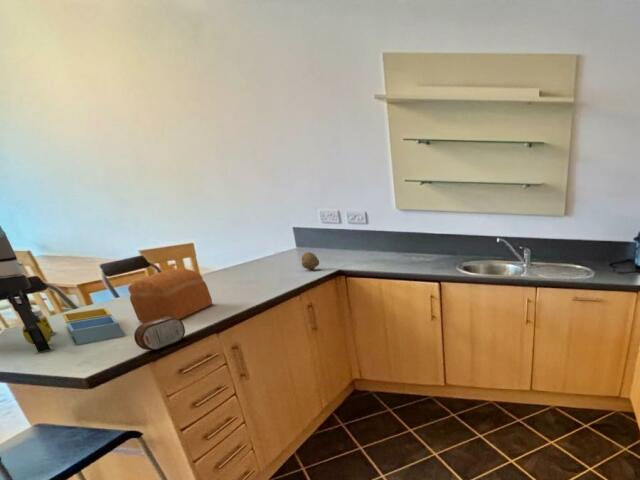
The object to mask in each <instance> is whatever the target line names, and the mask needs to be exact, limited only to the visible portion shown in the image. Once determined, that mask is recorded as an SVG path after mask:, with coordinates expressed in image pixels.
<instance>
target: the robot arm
mask: <svg viewBox="0 0 640 480" xmlns="http://www.w3.org/2000/svg"><path fill="white" fill-rule="evenodd" d="M17 257H18V256H17V255H16V253H15V251H14V248H13V247H12V245H11V242H10V240H9V238H8V236H7V233H6V232H5V231H4V229H3V228H2V226H1V225H0V293H5V292H7V293H8V294H9V295H7V300H8V302H9V303H10V304H11V306H12V308H13V310H14V311H15V312H16V313H17V314H18V316H19V318H20V319H21V321H22V324H23V326H25V327H26V328H25V330H23V331H24V332H28V334H29V335H30V337H31V339H32V341H33V343H34V344H33V345H34V347H35V348H36V351H37V352H38V353H42V352H48V351H51V350H52V348H51V347H50V345H49V342H48V343H47V341H46V339H45V337H44V335H43V333H42V331H41V329H40V327H39V326H38V325H37V323H39V322H38V320H36V319H40V318H39V316H35V314H34V313H33V312H32V309H33V307H32V306H31V302H30V298H29V297H28V294H27V293H23V291H24V290H27V289H30V288H31V287H32V284H31V283H30V281H29V279H28V276H27V275H25V274H24V273H25V271H24V269H23V266H24V263H23V262H19V259H18V258H17ZM34 325H35V326H34ZM29 326H30V327H29Z"/></svg>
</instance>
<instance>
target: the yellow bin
mask: <svg viewBox="0 0 640 480" xmlns="http://www.w3.org/2000/svg"><path fill="white" fill-rule="evenodd" d="M61 315H62V317H63V319H64V321H65V323H66V324H67V323H70V322H76V321H82V320H88V319H94V318H101V317H107V316H113V315H112V314H111V312H110V311H109V310H108V309H107V308H106V307H102V308H95V309H89V310H82V311H81V310H80V311H74V312H69V313H68V312H67V313H63V314H61Z"/></svg>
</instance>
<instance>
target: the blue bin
mask: <svg viewBox="0 0 640 480" xmlns="http://www.w3.org/2000/svg"><path fill="white" fill-rule="evenodd" d="M66 325H67V327H68V329H69V331H70V334H71V335H72V337H73V339H74V341H75V342H76V345H84V344H89V343H94V342H99V341H104V340H110V339H115V338H121V337H124V336H125V334H124V333H123V332H124V331H123V329H122V328H121V325H120V323H119V322H118V320H117V319H116V318H115V317H114V316H113V315H112V316H107V317H101V318H94V319H88V320H82V321H76V322H70V323H66Z"/></svg>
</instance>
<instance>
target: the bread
mask: <svg viewBox="0 0 640 480" xmlns="http://www.w3.org/2000/svg"><path fill="white" fill-rule="evenodd" d="M203 278H204V277H202V274H201V273H199V272H197V271H195V270H193V269H189V268H174V269H170V270H164V271H161V272H158V273H153V274H150V275H148V276H145V277H142V278H140V279H138V280H135V281H133V282H132V283H131V284H130V285H128V287H127V290H128V292H129V294H130V296H129V300H130V301H129V302H130V303H131V306H132V308H133V310H134V311H133V312H134V313H135V315H136V316H135V317H137V320H138V321H139V322H140V323H146V322H150V321H153V320H156V319H160V318H163V317H173V318H177V319H179V320H181V319H183V318H185V317H188V316H190V315H192V314H195V313H197V312H199V311H201V310H203V309H205V308H208V307H209V306H211V305H212V304H213V300H212V299H213V298H212V297H211V293H210V291H209V290H210V289H209V287H208V285H207V283H206V281H205V280H204V279H203Z"/></svg>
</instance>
